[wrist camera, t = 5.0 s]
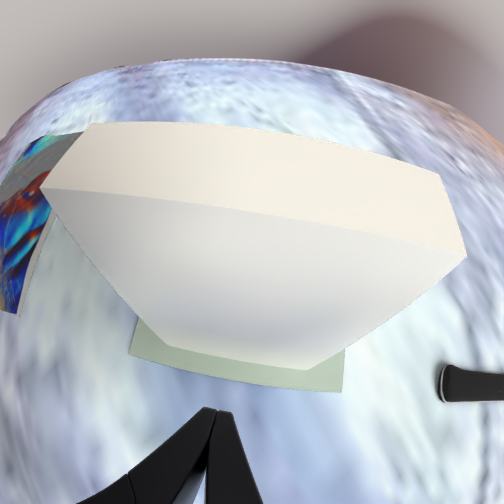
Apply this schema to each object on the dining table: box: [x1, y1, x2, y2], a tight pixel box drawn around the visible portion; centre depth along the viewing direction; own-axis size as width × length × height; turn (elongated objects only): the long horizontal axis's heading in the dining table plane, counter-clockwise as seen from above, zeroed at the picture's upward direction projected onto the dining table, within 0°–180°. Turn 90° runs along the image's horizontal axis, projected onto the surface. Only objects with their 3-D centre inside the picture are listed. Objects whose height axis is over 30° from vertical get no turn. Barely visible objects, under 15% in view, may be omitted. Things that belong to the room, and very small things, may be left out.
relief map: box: [0, 132, 83, 317], centre depth 22 cm, size 25×15×2 cm, turn 179°
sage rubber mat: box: [128, 317, 345, 393], centre depth 21 cm, size 20×14×1 cm
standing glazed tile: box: [39, 122, 467, 370], centre depth 11 cm, size 3×9×14 cm, turn 81°
